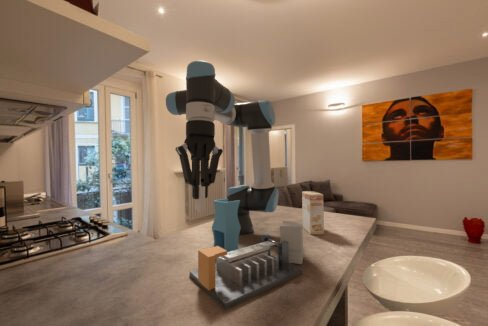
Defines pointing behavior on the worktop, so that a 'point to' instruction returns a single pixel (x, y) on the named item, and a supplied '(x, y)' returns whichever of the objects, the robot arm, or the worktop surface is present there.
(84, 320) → the worktop surface
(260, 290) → the heatsink
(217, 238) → the vase
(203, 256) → the lug slider
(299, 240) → the supplement box
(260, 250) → the strap
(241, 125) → the robot arm
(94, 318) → the worktop surface
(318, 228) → the coffeecake box
